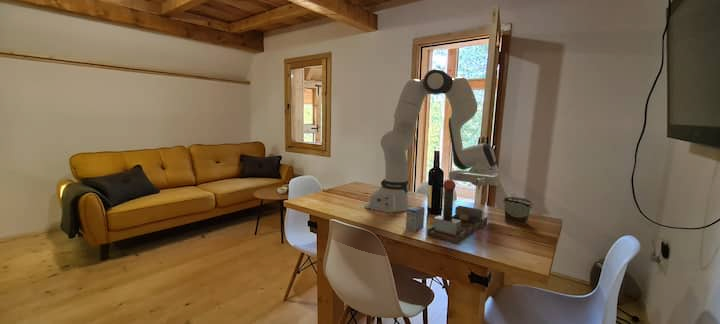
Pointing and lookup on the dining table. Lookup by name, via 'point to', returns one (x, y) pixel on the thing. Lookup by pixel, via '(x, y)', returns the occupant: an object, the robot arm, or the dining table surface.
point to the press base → (469, 225)
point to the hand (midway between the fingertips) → (466, 179)
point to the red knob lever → (447, 213)
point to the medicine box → (415, 218)
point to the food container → (517, 209)
